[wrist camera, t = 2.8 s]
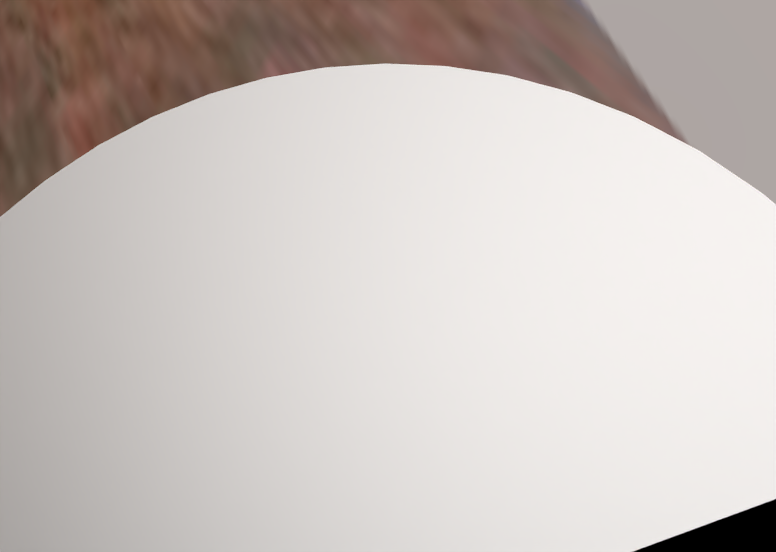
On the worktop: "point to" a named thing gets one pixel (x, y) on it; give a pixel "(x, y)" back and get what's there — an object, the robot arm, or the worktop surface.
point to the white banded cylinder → (389, 329)
